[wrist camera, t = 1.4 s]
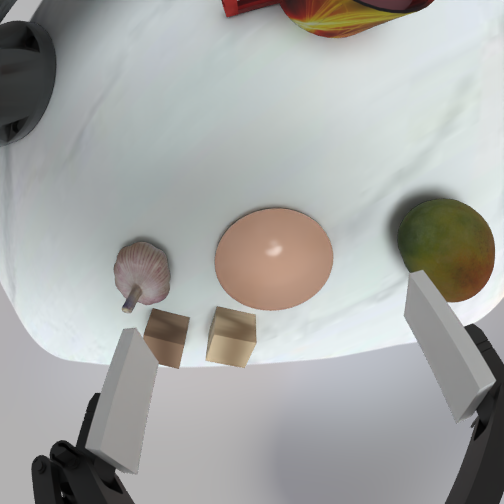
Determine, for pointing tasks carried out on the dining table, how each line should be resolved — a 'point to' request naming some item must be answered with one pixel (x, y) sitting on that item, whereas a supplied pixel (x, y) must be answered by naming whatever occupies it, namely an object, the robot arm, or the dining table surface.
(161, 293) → the garlic bulb
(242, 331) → the oak block
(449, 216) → the fruit
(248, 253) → the peach ellipsoid
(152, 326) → the walnut block
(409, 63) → the dining table surface
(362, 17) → the mug
